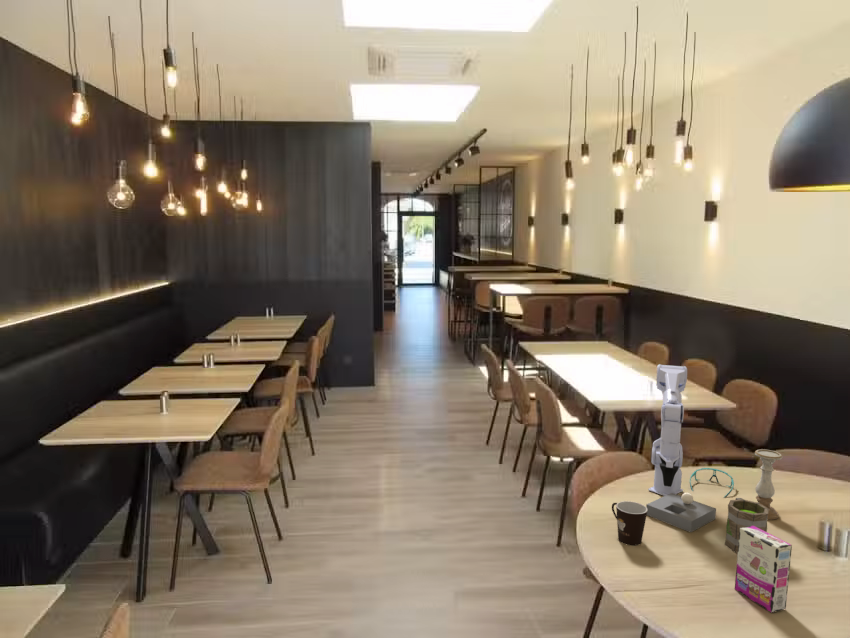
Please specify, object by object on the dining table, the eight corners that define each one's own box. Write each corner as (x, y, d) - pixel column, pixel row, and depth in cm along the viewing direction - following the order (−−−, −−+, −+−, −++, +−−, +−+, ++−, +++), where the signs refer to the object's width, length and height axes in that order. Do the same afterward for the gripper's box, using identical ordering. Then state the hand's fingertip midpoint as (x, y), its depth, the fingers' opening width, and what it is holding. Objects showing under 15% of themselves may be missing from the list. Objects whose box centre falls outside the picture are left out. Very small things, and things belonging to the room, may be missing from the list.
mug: (771, 558, 175) (775, 517, 173) (729, 554, 177) (733, 513, 175) (754, 532, 190) (757, 494, 188) (715, 528, 192) (718, 491, 190)
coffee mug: (649, 547, 179) (651, 514, 178) (618, 547, 180) (621, 513, 178) (636, 528, 191) (638, 497, 190) (608, 528, 191) (609, 496, 190)
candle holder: (776, 522, 197) (782, 460, 194) (745, 514, 202) (750, 453, 199) (780, 513, 204) (786, 452, 201) (750, 505, 209) (755, 446, 206)
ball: (684, 500, 204) (685, 489, 203) (694, 504, 201) (695, 493, 201) (678, 503, 202) (679, 492, 201) (689, 506, 199) (690, 496, 198)
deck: (671, 502, 210) (671, 492, 210) (715, 519, 199) (716, 508, 198) (645, 514, 201) (646, 504, 200) (690, 532, 189) (691, 521, 189)
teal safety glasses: (735, 485, 227) (736, 472, 225) (730, 504, 214) (731, 490, 213) (693, 477, 234) (694, 464, 233) (685, 494, 222) (686, 481, 221)
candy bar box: (787, 609, 150) (793, 544, 148) (771, 614, 149) (777, 548, 146) (748, 585, 161) (753, 524, 159) (733, 589, 159) (738, 527, 157)
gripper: (656, 432, 210) (654, 471, 211) (656, 446, 196) (654, 488, 198) (679, 435, 207) (676, 474, 209) (681, 449, 194) (678, 491, 196)
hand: (667, 481), depth 203 cm, fingers open, 7 cm apart
